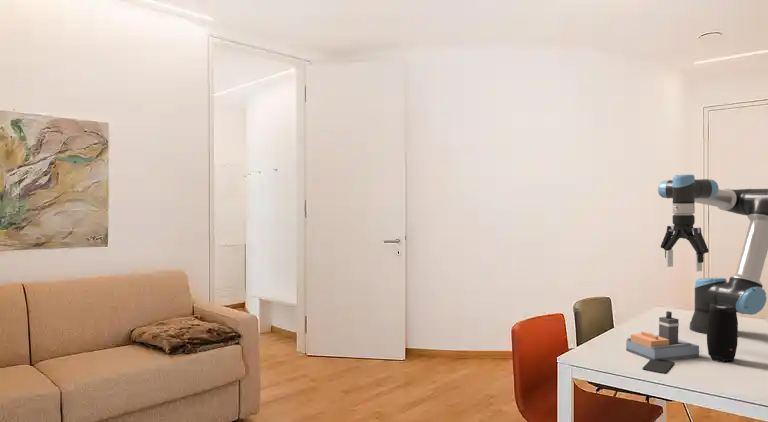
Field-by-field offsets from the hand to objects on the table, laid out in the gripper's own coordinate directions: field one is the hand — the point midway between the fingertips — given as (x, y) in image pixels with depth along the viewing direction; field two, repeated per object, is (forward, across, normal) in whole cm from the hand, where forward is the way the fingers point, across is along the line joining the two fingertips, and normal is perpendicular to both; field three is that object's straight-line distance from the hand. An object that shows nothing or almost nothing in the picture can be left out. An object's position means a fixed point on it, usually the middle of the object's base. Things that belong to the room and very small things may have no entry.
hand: (683, 268), depth 212 cm
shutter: (+25, +6, -22) cm, 34 cm away
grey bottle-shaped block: (+29, +6, -14) cm, 32 cm away
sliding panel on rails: (+30, +6, -17) cm, 35 cm away
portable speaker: (+30, +18, -2) cm, 35 cm away
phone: (+30, +18, -30) cm, 46 cm away
